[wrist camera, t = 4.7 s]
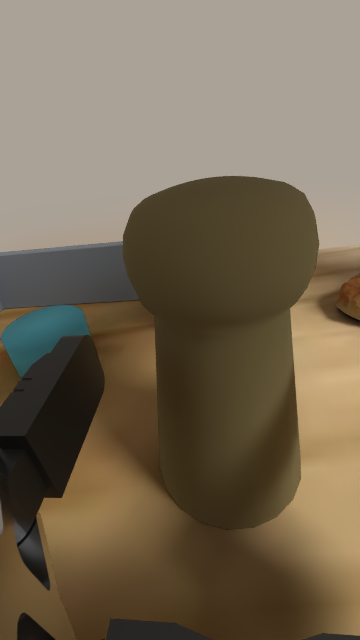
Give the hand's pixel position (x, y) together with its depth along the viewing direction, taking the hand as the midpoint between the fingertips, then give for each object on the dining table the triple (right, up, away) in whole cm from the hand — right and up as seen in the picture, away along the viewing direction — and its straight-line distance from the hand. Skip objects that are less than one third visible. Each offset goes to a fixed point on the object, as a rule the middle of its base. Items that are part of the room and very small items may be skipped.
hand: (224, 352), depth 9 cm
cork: (+1, -5, +4) cm, 7 cm away
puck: (-10, -2, +12) cm, 15 cm away
